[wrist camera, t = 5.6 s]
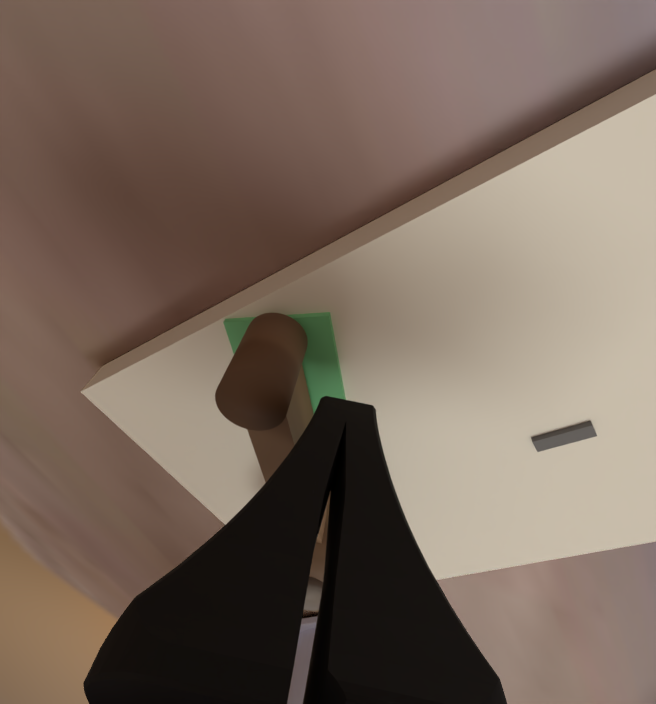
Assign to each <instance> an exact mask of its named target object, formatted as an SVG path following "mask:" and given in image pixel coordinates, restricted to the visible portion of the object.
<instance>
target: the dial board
mask: <svg viewBox="0 0 656 704" xmlns="http://www.w3.org/2000/svg"><path fill="white" fill-rule="evenodd" d="M264 313H281V314H284V315H287V316H289V317H291V318H293V319H294V320H296V321H297V322H298V323H299V324H300V325H301V326H302V327H303V329H304V331H305V333H306V335H307V339H308V346H307V350H306V353H305V356H304V359H303V363H302V366H303V370H304V375H305V379H306V383H307V388H308V392H309V396H310V400H311V405H312V409H313V413H315V411H316V409H317V407H318V404H319V401H320V399H321V398H322V397H324V396H330V397H335V398H340V399H345V400H350V401H355V402H359V403H364V404H369V405H373V406H374V408H375V409H376V417H377V424H378V430H379V435H380V440H381V444H382V448H383V452H384V456H385V460H386V463H387V466H388V469H389V473H390V476H391V479H392V482H393V485H394V488H395V491H396V494H397V497H398V499H399V502H400V505H401V507H402V510H403V512H404V515H405V517H406V520H407V522H408V524H409V527H410V529H411V531H412V533H413V535H414V538H415V540H416V542H417V544H418V546H419V548H420V550H421V552H422V554H423V556H424V558H425V560H426V562H427V564H428V566H429V568H430V570H431V572H432V573H433V575H434V577H435V579H436V580H439V579H445V578H450V577H456V576H462V575H468V574H473V573H479V572H485V571H490V570H496V569H502V568H507V567H513V566H519V565H524V564H530V563H536V562H542V561H547V560H553V559H559V558H564V557H570V556H576V555H581V554H587V553H593V552H599V551H604V550H610V549H616V548H621V547H627V546H633V545H638V544H644V543H650V542H656V69H655V70H653V71H652V72H650V73H648V74H646V75H644V76H642V77H640V78H638V79H637V80H635V81H633V82H631V83H629V84H627V85H625V86H624V87H622V88H620V89H618V90H616V91H614V92H612V93H611V94H609V95H607V96H605V97H603V98H601V99H599V100H597V101H596V102H594V103H592V104H590V105H588V106H586V107H584V108H583V109H581V110H579V111H577V112H575V113H573V114H571V115H569V116H568V117H566V118H564V119H562V120H560V121H558V122H556V123H555V124H553V125H551V126H549V127H547V128H545V129H543V130H542V131H540V132H538V133H536V134H534V135H532V136H530V137H528V138H527V139H525V140H523V141H521V142H519V143H517V144H515V145H514V146H512V147H510V148H508V149H506V150H504V151H502V152H500V153H499V154H497V155H495V156H493V157H491V158H489V159H487V160H486V161H484V162H482V163H480V164H478V165H476V166H474V167H473V168H471V169H469V170H467V171H465V172H463V173H461V174H459V175H458V176H456V177H454V178H452V179H450V180H448V181H446V182H445V183H443V184H441V185H439V186H437V187H435V188H433V189H431V190H430V191H428V192H426V193H424V194H422V195H420V196H418V197H417V198H415V199H413V200H411V201H409V202H407V203H405V204H404V205H402V206H400V207H398V208H396V209H394V210H392V211H390V212H389V213H387V214H385V215H383V216H381V217H379V218H377V219H376V220H374V221H372V222H370V223H368V224H366V225H364V226H362V227H361V228H359V229H357V230H355V231H353V232H351V233H349V234H348V235H346V236H344V237H342V238H340V239H338V240H336V241H335V242H333V243H331V244H329V245H327V246H325V247H323V248H321V249H320V250H318V251H316V252H314V253H312V254H310V255H308V256H307V257H305V258H303V259H301V260H299V261H297V262H295V263H293V264H292V265H290V266H288V267H286V268H284V269H282V270H280V271H279V272H277V273H275V274H273V275H271V276H269V277H267V278H266V279H264V280H262V281H260V282H258V283H256V284H254V285H252V286H251V287H249V288H247V289H245V290H243V291H241V292H239V293H238V294H236V295H234V296H232V297H230V298H228V299H226V300H224V301H223V302H221V303H219V304H217V305H215V306H213V307H211V308H210V309H208V310H206V311H204V312H202V313H200V314H198V315H197V316H195V317H193V318H191V319H189V320H187V321H185V322H183V323H182V324H180V325H178V326H176V327H174V328H172V329H170V330H169V331H167V332H165V333H163V334H161V335H159V336H157V337H155V338H154V339H152V340H150V341H148V342H146V343H144V344H142V345H141V346H139V347H137V348H135V349H133V350H131V351H129V352H128V353H126V354H124V355H122V356H120V357H118V358H116V359H114V360H113V361H111V362H109V363H107V364H105V365H103V366H102V367H101V368H100V369H99V370H98V372H97V373H96V374H95V375H94V376H93V377H92V379H91V380H90V381H89V382H88V383H87V385H86V386H85V387H84V388H83V389H82V390H81V393H82V394H83V395H84V396H86V397H87V398H88V399H89V400H90V401H91V402H92V403H93V404H94V405H95V406H96V407H98V408H99V409H100V410H101V411H102V412H103V413H104V414H105V415H106V416H107V417H108V418H109V419H111V420H112V421H113V422H114V423H115V424H116V425H117V426H118V427H119V428H120V429H121V430H123V431H124V432H125V433H126V434H127V435H128V436H129V437H130V438H131V439H132V440H133V441H134V442H136V443H137V444H138V445H139V446H140V447H141V448H142V449H143V450H144V451H145V452H146V453H148V454H149V455H150V456H151V457H152V458H153V459H154V460H155V461H156V462H157V463H158V464H159V465H161V466H162V467H163V468H164V469H165V470H166V471H167V472H168V473H169V474H170V475H171V476H173V477H174V478H175V479H176V480H177V481H178V482H179V483H180V484H181V485H182V486H183V487H185V488H186V489H187V490H188V491H189V492H190V493H191V494H192V495H193V496H194V497H195V498H196V499H198V500H199V501H200V502H201V503H202V504H203V505H204V506H205V507H206V508H207V509H208V510H210V511H211V512H212V513H213V514H214V515H215V516H216V517H217V518H218V519H219V520H220V521H221V522H223V523H224V524H225V525H226V524H227V523H228V522H229V521H230V520H231V519H232V518H233V517H234V516H235V515H236V514H237V513H238V512H239V511H240V510H241V509H242V508H243V507H244V506H245V505H246V504H247V503H248V502H249V501H250V500H251V499H252V498H253V497H254V495H255V494H256V493H257V492H258V491H259V490H260V489H261V488H262V487H263V485H264V484H265V483H266V482H265V479H264V477H263V474H262V471H261V468H260V465H259V462H258V459H257V456H256V454H255V451H254V448H253V445H252V442H251V439H250V436H249V433H248V430H247V429H245V428H242V427H239V426H237V425H235V424H233V423H232V422H230V421H229V420H228V419H227V418H225V417H224V416H223V414H222V413H221V412H220V411H219V409H218V407H217V405H216V401H215V393H216V389H217V387H218V385H219V383H220V381H221V379H222V377H223V375H224V373H225V371H226V369H227V367H228V365H229V363H230V361H231V360H232V358H233V356H234V354H235V352H236V350H237V348H238V346H239V344H240V342H241V340H242V338H243V336H244V334H245V332H246V330H247V328H248V326H249V324H250V323H251V321H252V320H253V319H254V318H256V317H257V316H259V315H261V314H264Z"/></svg>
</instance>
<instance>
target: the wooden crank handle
mask: <svg viewBox="0 0 656 704" xmlns="http://www.w3.org/2000/svg"><path fill="white" fill-rule="evenodd" d="M307 346H308V339H307V335H306V333H305V331H304V329H303V327H302V326H301V325H300V324H299V323H298V322H297V321H296V320H294V319H293V318H291V317H289V316H287V315H284V314H281V313H264V314H261V315H259V316H257V317H256V318H254V319H253V320H252V321H251V323H250V324H249V326H248V328H247V330H246V332H245V334H244V336H243V338H242V340H241V342H240V344H239V346H238V348H237V350H236V352H235V354H234V356H233V358H232V360H231V361H230V363H229V365H228V367H227V369H226V371H225V373H224V375H223V377H222V379H221V381H220V383H219V385H218V387H217V389H216V393H215V401H216V405H217V407H218V409H219V411H220V412H221V413H222V414H223V416H224V417H225V418H227V419H228V420H229V421H230V422H232V423H233V424H235V425H237V426H239V427H242V428H245V429H247V430H248V433H249V436H250V439H251V442H252V445H253V448H254V451H255V454H256V456H257V459H258V462H259V465H260V468H261V471H262V474H263V477H264V479H265V482H267V481H268V480H269V478H270V477H271V476H272V475H273V473H274V472H275V471H276V470H277V468H278V467H279V466H280V464H281V463H282V462H283V461H284V459H285V458H286V457H287V456H288V454H289V453H290V451H291V450H292V448H293V447H294V445H295V444H296V443H297V441H298V440H299V438H300V437H301V435H302V434H303V432H304V431H305V429H306V427H307V426H308V424H309V422H310V420H311V419H312V417H313V415H314V413H313V409H312V405H311V400H310V396H309V392H308V388H307V383H306V379H305V375H304V370H303V366H302V363H303V359H304V356H305V353H306V350H307ZM330 492H331V491H330ZM329 504H330V494H329V498H328V501H327V505H326V509H325V512H324V516H323V519H322V523H321V527H320V530H319V534H318V537H317V541H316V544H315V548H314V552H313V558H312V564H311V569H310V575H309V581H308V587H307V592H306V598H305V604H304V610H305V611H311V612H318V611H319V605H320V599H321V593H322V586H323V577H324V567H325V554H326V542H327V529H328V516H329Z"/></svg>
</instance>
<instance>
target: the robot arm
mask: <svg viewBox="0 0 656 704" xmlns="http://www.w3.org/2000/svg"><path fill="white" fill-rule="evenodd" d="M330 491H331V492H330ZM329 494H330V504H329V516H328V529H327V542H326V554H325V567H324V577H323V586H322V593H321V599H320V605H319V611H318V616H315V617H308V618H302V615H303V610H304V604H305V598H306V592H307V587H308V581H309V575H310V569H311V564H312V558H313V552H314V548H315V544H316V541H317V537H318V534H319V530H320V527H321V523H322V519H323V516H324V512H325V509H326V505H327V501H328V498H329ZM84 691H85V694H86V697H87V699H88V702H89V704H507V702H506V698H505V695H504V691H503V688H502V685H501V682H500V679H499V677H498V676H497V674H496V673H495V672H494V670H493V669H492V667H491V666H490V664H489V663H488V662H487V660H486V659H485V657H484V656H483V655H482V653H481V652H480V650H479V649H478V647H477V646H476V644H475V643H474V641H473V640H472V638H471V637H470V635H469V634H468V632H467V631H466V629H465V628H464V626H463V624H462V623H461V621H460V620H459V618H458V616H457V615H456V613H455V612H454V610H453V609H452V607H451V605H450V604H449V602H448V600H447V598H446V596H445V595H444V593H443V591H442V589H441V588H440V586H439V584H438V582H437V581H436V579H435V577H434V575H433V573H432V572H431V570H430V568H429V566H428V564H427V562H426V560H425V558H424V556H423V554H422V552H421V550H420V548H419V546H418V544H417V542H416V540H415V538H414V535H413V533H412V531H411V529H410V527H409V524H408V522H407V520H406V517H405V515H404V512H403V510H402V507H401V505H400V502H399V499H398V497H397V494H396V491H395V488H394V485H393V482H392V479H391V476H390V473H389V469H388V466H387V463H386V460H385V456H384V452H383V448H382V444H381V440H380V435H379V430H378V424H377V417H376V409H375V408H374V406H373V405H369V404H364V403H359V402H355V401H350V400H345V399H340V398H335V397H330V396H324V397H322V398H321V399H320V401H319V404H318V407H317V409H316V411H315V413H314V415H313V417H312V419H311V420H310V422H309V424H308V426H307V427H306V429H305V431H304V432H303V434H302V435H301V437H300V438H299V440H298V441H297V443H296V444H295V445H294V447H293V448H292V450H291V451H290V453H289V454H288V456H287V457H286V458H285V459H284V461H283V462H282V463H281V464H280V466H279V467H278V468H277V470H276V471H275V472H274V473H273V475H272V476H271V477H270V478H269V480H268V481H267V482H266V483H265V484H264V485H263V487H262V488H261V489H260V490H259V491H258V492H257V493H256V494H255V495H254V497H253V498H252V499H251V500H250V501H249V502H248V503H247V504H246V505H245V506H244V507H243V508H242V509H241V510H240V511H239V512H238V513H237V514H236V515H235V516H234V517H233V518H232V519H231V520H230V521H229V522H228V523H227V524H226V525H225V526H224V527H223V528H222V529H221V530H219V531H218V532H217V533H216V534H215V535H214V536H213V537H212V538H211V539H209V540H208V541H207V542H206V543H205V544H203V545H202V546H201V547H200V548H199V549H197V550H196V551H195V552H194V553H193V554H192V555H190V556H189V557H188V558H187V559H186V560H184V561H183V562H182V563H181V564H179V565H178V566H177V567H176V568H174V569H173V570H172V571H170V572H169V573H168V574H166V575H165V576H164V577H162V578H161V579H159V580H158V581H157V582H155V583H154V584H153V585H151V586H150V587H149V588H147V589H146V590H145V591H143V592H142V593H140V594H139V595H138V596H136V597H135V598H134V600H133V601H132V602H131V603H130V605H129V606H128V607H127V609H126V610H125V611H124V613H123V614H122V615H121V617H120V618H119V619H118V621H117V622H116V624H115V625H114V627H113V628H112V630H111V631H110V633H109V635H108V636H107V638H106V639H105V641H104V643H103V644H102V646H101V648H100V650H99V652H98V654H97V657H96V658H95V660H94V662H93V665H92V667H91V669H90V671H89V673H88V675H87V677H86V679H85V681H84Z"/></svg>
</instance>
